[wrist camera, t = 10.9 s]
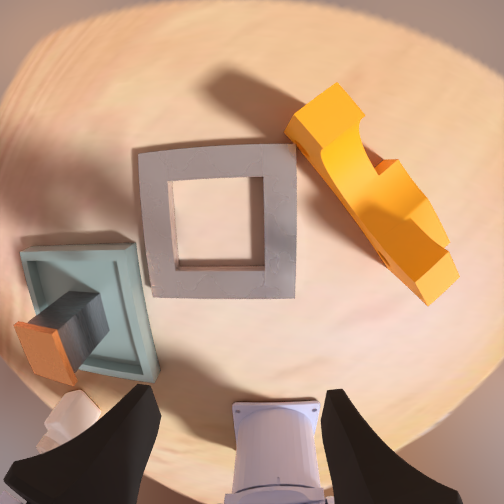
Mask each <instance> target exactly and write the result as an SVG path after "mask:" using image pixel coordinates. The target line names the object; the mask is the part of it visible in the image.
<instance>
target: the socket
mask: <svg viewBox="0 0 504 504" xmlns="http://www.w3.org/2000/svg"><path fill="white" fill-rule="evenodd" d="M138 167H139V185H140V199H141V211H142V221H143V231H144V240H145V248H146V256H147V263H148V270H149V277H150V283H151V289H152V295H153V297H159V298H196V299H286V298H295V281H296V233H297V176H296V144H245V145H223V146H208V147H195V148H183V149H173V150H164V151H156V152H148V153H141V154H138ZM231 177H263V183H264V237H265V266H179V258H178V248H177V238H176V226H175V213H174V199H173V182H172V181H178V180H192V179H209V178H231Z"/></svg>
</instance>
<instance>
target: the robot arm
mask: <svg viewBox="0 0 504 504" xmlns="http://www.w3.org/2000/svg"><path fill="white" fill-rule="evenodd" d="M314 408H315V409H314ZM238 410H239V411H238ZM319 410H320V402H319V401H302V402H272V403H251V402H235V403H233V405H232V411H233V420H234V428H235V437H236V445H237V450H236V459H235V469H234V478H233V488H232V494H225V500H224V504H463V502H462V499H461V497H460V495H459V493H458V491H456V490H453V489H451V488H449V487H447V486H444V485H442V484H440V483H438V482H436V481H435V480H433V479H431V478H429V477H427V476H426V475H424V474H423V473H421V472H420V471H418V470H416V469H415V468H414V467H412V466H411V465H409V464H408V463H407V462H406V461H404V460H403V459H402V458H401V457H399V456H398V455H397V454H396V453H395V452H394V451H393V450H392V449H390V448H389V447H388V446H387V445H386V444H385V443H384V442H383V441H382V439H381V438H380V437H379V436H378V435H377V434H376V433H375V432H374V431H373V430H372V428H371V427H370V426H369V425H368V423H367V422H366V421H365V420H364V418H363V417H362V416H361V415H360V413H359V412H358V411H357V409H356V408H355V406H354V405H353V404H352V402H351V401H350V399H349V398H348V396H347V395H346V393H345V391H344V390H343V389H335V390H327V394H326V398H325V403H324V408H323V412H322V417H321V429H322V439H323V444H324V449H325V453H326V458H327V462H328V467H329V471H330V476H331V480H332V485H333V492H334V497H333V496H329V497H326V498H325V499H324V492H323V488H322V487H320V479H319V471H318V463H317V456H316V449H315V441H314V434H315V430H316V425H317V420H318V415H319ZM160 420H161V413H160V411H159V408H158V405H157V403H156V400H155V397H154V394H153V391H152V388H151V386H149V385H142V384H137V385H136V386H135V387H134V388H133V389H132V390H131V391H130V392H129V393H128V394H127V395H125V396H124V397H123V398H122V399H121V400H120V401H119V402H118V403H117V404H116V405H115V406H114V407H113V408H112V409H111V410H109V411H108V412H107V413H106V414H105V415H104V416H103V417H102V418H100V419H99V420H98V421H97V422H95V423H94V424H93V425H92V426H90V427H89V428H88V429H86V430H85V431H84V432H82V433H81V434H79V435H78V436H76V437H75V438H73V439H71V440H70V441H68V442H66V443H64V444H62V445H60V446H58V447H56V448H54V449H52V450H50V451H47V452H45V453H42V454H40V455H37V456H34V457H31V458H27V459H23V460H19V461H15V462H14V463H13V464H12V466H11V467H10V469H9V471H8V472H7V474H6V476H5V478H4V482H5V483H6V484H7V485H8V486H9V487H10V488H11V489H13V490H14V491H15V492H16V493H17V494H19V495H20V496H21V497H22V498H23V499H25V500H26V501H27V503H26V504H136V503H137V496H138V492H139V487H140V483H141V478H142V476H143V472H144V470H145V467H146V464H147V462H148V459H149V456H150V454H151V451H152V448H153V445H154V443H155V440H156V437H157V434H158V429H159V425H160ZM0 504H23V503H22V502H20V501H19V500H17V499H16V498H15V497H13V496H12V495H11V494H9V493H8V492H6V491H5V490H4V491H3V492H2V494H1V496H0ZM219 504H222V503H219Z"/></svg>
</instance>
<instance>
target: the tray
mask: <svg viewBox="0 0 504 504" xmlns="http://www.w3.org/2000/svg"><path fill="white" fill-rule="evenodd" d="M20 256H21V261H22V265H23V270H24V274H25V278H26V282H27V286H28V289H29V293H30V296H31V300H32V303H33V306H34V310H35V313H36V315H38V314H39V313H40V312H42V311H43V310H44V309H45V308H47V307H48V306H49V305H51V304H52V303H53V302H55V301H56V300H57V299H58V298H60V297H61V296H62V295H64V294H65V293H67V292H68V291H79V292H94V293H100V294H101V298H102V303H103V307H104V311H105V315H106V318H107V322H108V326H109V329H110V331H109V332H108V333H107V335H106V336H105V337H104V338H103V339H102V341H101V342H100V343H99V344H98V345H97V347H96V348H95V349H94V350H93V351H92V353H91V354H90V355H89V356H88V357H87V359H86V360H85V361H84V362H83V364H82V365H81V366H80V367H79V370H84V371H88V372H93V373H97V374H102V375H107V376H112V377H118V378H123V379H129V380H136V381H142V382H149V383H155V381H156V379H157V377H158V375H159V373H160V371H161V370H160V366H159V362H158V358H157V354H156V350H155V346H154V342H153V337H152V333H151V328H150V324H149V319H148V314H147V309H146V304H145V298H144V293H143V287H142V281H141V275H140V269H139V262H138V255H137V248H136V243H108V244H78V245H50V246H31V247H29V248H27V249H25V250H23V251H21V252H20Z"/></svg>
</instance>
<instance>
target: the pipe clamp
mask: <svg viewBox="0 0 504 504" xmlns="http://www.w3.org/2000/svg"><path fill="white" fill-rule="evenodd" d="M364 116H365V114H364V113H363V112H362V111H361V109H360V108H359V107H358V106H357V105H356V103H355V102H354V101H353V100H352V99H351V97H350V96H349V95H348V94H347V93H346V92H345V90H344V89H343V88H342V87H341V86H340V85H339V84H338V83H337V82H336V83H335V84H334V85H332V86H331V87H329V88H328V89H327V90H325V91H324V92H323V93H321V94H320V95H318V96H317V97H316V98H314V99H313V100H312V101H310V102H309V103H308V104H306V105H305V106H304V107H302V108H301V109H300V110H299V111H297V112H296V113H295V114H294V115H293V116H292V118H291V120H290V122H289V124H288V125H287V127H286V129H285V131H284V133H285V134H286V135H287V137H288V138H289V139H290V140H291V141H292V142H293V143H294V144H296V147H297V148H298V149H299V150H300V152H301V153H302V154H303V155H304V156H305V157H306V159H307V160H308V161H309V162H310V163H311V165H312V166H313V167H314V168H315V170H316V171H317V172H318V173H319V174H320V176H321V177H322V178H323V179H324V181H325V182H326V183H327V184H328V186H329V187H330V188H331V190H332V191H333V192H334V193H335V195H336V196H337V197H338V199H339V200H340V201H341V203H342V204H343V205H344V207H345V208H346V209H347V211H348V212H349V213H350V215H351V216H352V218H353V219H354V220H355V222H356V223H357V224H358V226H359V227H360V229H361V230H362V231H363V233H364V234H365V236H366V237H367V239H368V240H369V242H370V243H371V244H372V246H373V247H374V249H375V250H376V252H377V253H378V255H379V256H380V258H381V259H382V261H383V262H384V264H385V265H386V267H387V268H388V269H389V270H390V271H391V272H392V273H393V274H394V275H395V276H396V277H397V278H399V279H400V280H401V281H402V282H403V283H404V284H405V285H406V286H407V287H408V288H409V289H410V290H411V291H412V292H413V293H415V294H416V295H417V296H418V297H419V298H420V299H421V300H422V301H423V302H424V303H425V304H426V305H427V306H429V305H430V304H431V303H432V302H434V301H435V300H436V299H437V298H438V297H439V296H440V295H441V294H442V293H443V292H445V291H446V290H447V289H448V288H449V287H450V286H451V285H452V284H453V283H454V282H455V281H456V280H457V279H458V278H459V277H460V276H459V273H458V271H457V269H456V266H455V264H454V262H453V259H452V257H451V255H450V253H449V251H447V250H446V249H444V248H445V247H446V246H447V245H448V244H449V243H450V241H449V239H448V237H447V235H446V232H445V230H444V228H443V226H442V224H441V222H440V220H439V218H438V216H437V214H436V213H435V211H434V209H433V207H432V205H431V203H430V201H429V200H428V198H427V197H426V196H425V195H424V194H423V193H422V191H421V190H420V189H419V188H418V187H417V185H416V184H415V183H414V181H413V180H412V179H411V177H410V176H409V175H408V173H407V172H406V170H405V169H404V167H403V166H402V164H401V163H400V161H399V160H398V159H391V160H383V161H382V162H381V163H380V164H378V165H377V166H376V167H375V168H374V167H373V165H372V164H371V162H370V160H369V158H368V156H367V154H366V152H365V150H364V147H363V145H362V142H361V139H360V135H359V123H360V120H361V119H362V118H363V117H364Z"/></svg>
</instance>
